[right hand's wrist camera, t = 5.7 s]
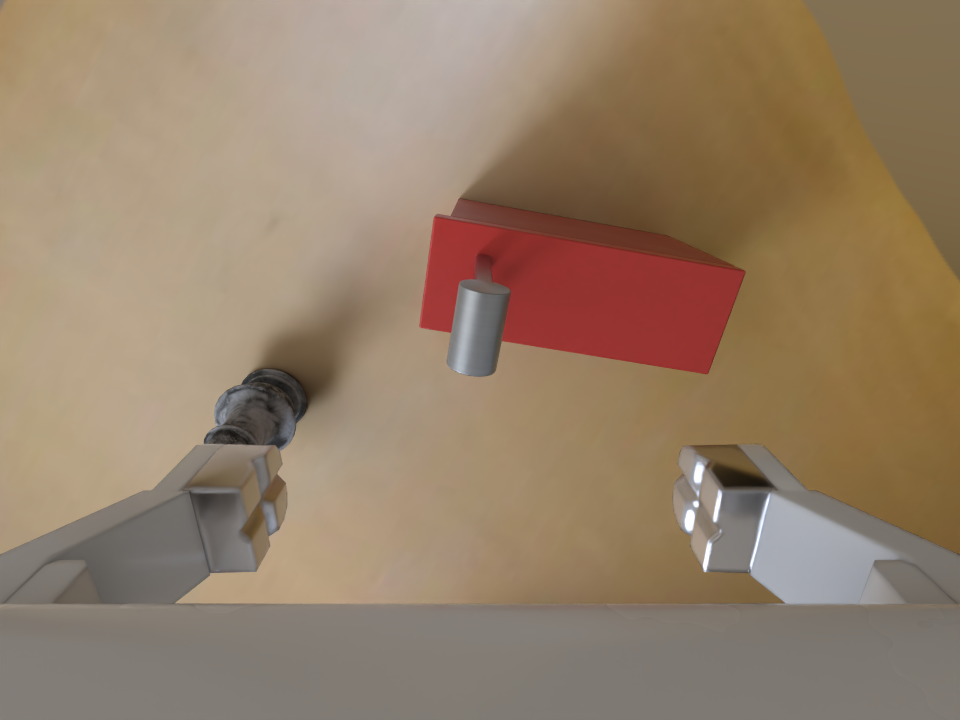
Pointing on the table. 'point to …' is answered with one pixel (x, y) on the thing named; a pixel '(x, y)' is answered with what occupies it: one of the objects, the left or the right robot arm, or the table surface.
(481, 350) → the lid
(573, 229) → the chest
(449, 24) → the table surface
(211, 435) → the grey chess bishop
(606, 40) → the table surface
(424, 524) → the table surface
